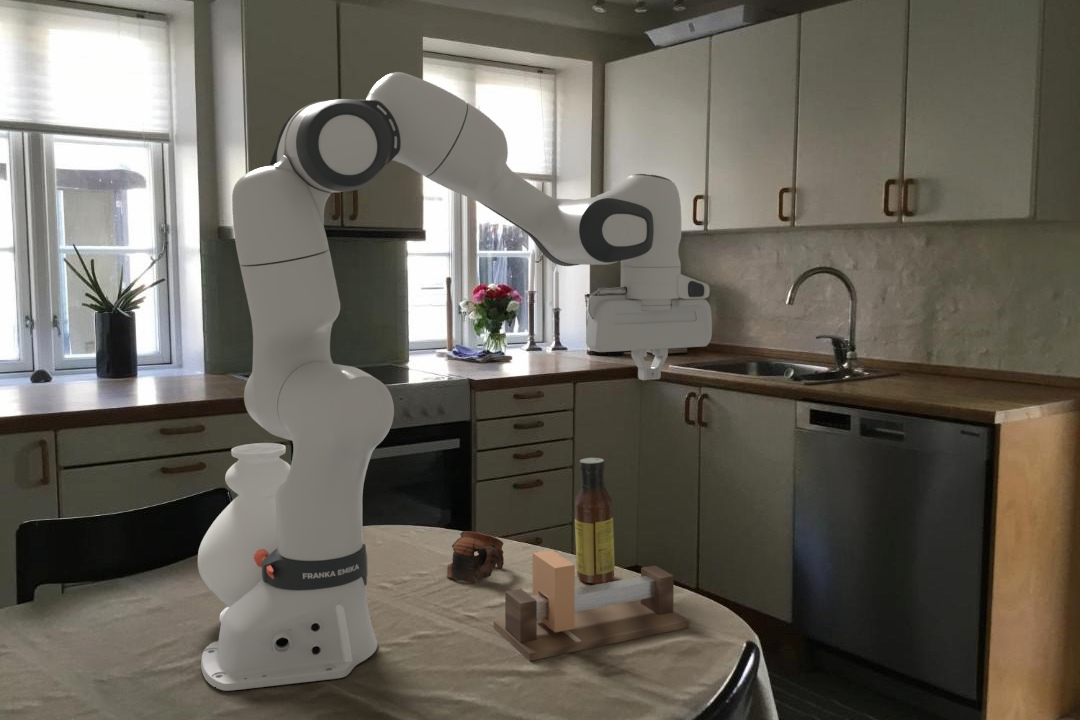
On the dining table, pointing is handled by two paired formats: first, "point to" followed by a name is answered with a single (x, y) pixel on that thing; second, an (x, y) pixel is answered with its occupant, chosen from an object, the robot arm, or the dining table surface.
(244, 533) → the decorative vase
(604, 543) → the sauce bottle
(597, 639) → the rod stand
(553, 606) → the collar
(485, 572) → the broken clay pot
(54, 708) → the dining table surface
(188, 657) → the dining table surface
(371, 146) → the robot arm
